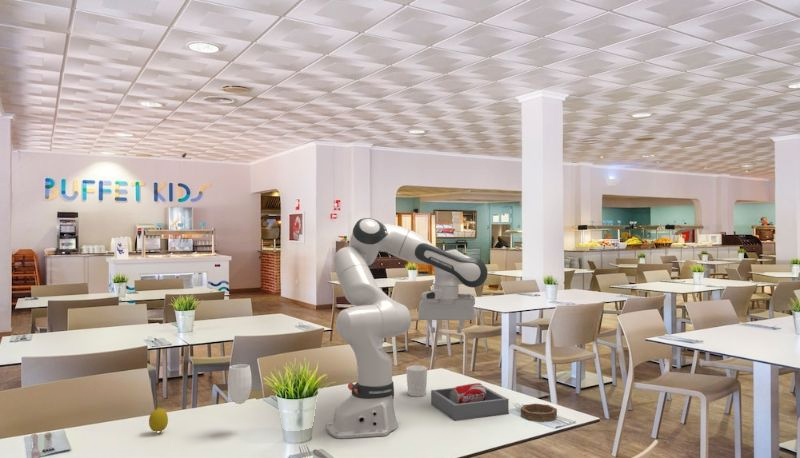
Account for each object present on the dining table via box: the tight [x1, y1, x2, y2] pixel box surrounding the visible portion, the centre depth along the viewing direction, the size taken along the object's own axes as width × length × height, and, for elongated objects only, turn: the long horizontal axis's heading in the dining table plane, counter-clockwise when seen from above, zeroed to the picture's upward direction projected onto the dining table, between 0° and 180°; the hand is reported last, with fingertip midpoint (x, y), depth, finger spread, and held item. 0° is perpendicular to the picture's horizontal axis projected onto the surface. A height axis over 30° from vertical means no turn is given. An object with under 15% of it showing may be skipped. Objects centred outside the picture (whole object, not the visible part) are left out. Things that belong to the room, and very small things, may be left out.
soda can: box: [449, 382, 486, 404], centre depth 212 cm, size 7×7×12 cm
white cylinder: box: [406, 365, 428, 397], centre depth 229 cm, size 8×8×10 cm
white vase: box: [227, 363, 253, 405], centre depth 188 cm, size 7×7×21 cm
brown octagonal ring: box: [520, 403, 558, 423], centre depth 201 cm, size 11×11×2 cm
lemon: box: [148, 407, 169, 432], centre depth 188 cm, size 6×6×8 cm
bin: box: [430, 385, 510, 421], centre depth 210 cm, size 20×20×5 cm
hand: (446, 332), depth 216 cm, fingers open, 8 cm apart
